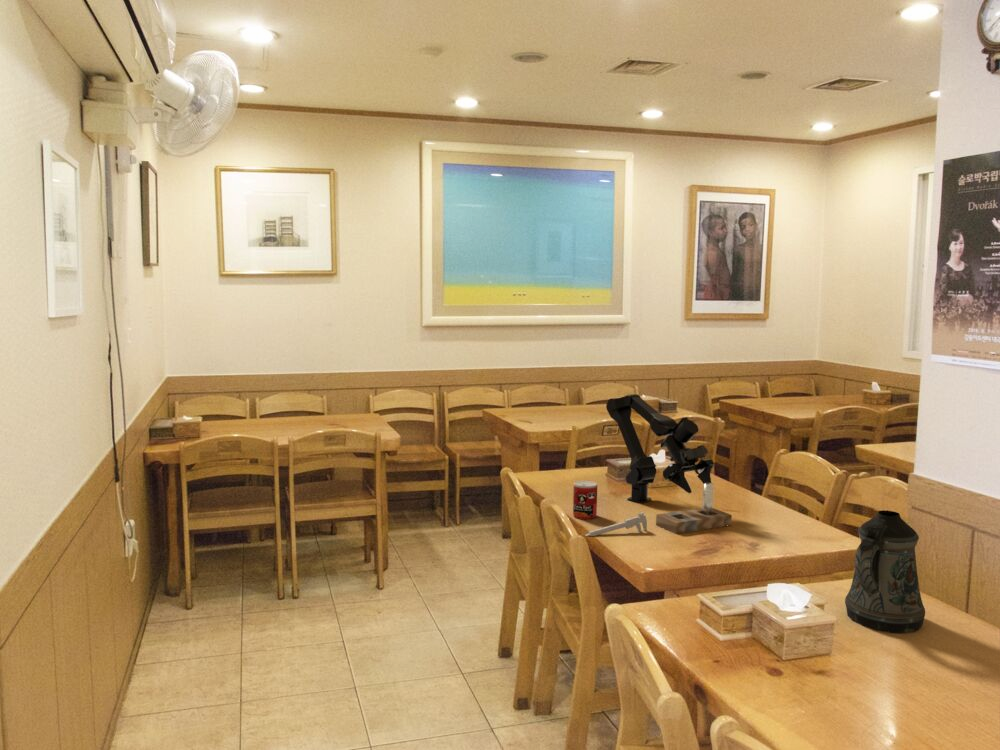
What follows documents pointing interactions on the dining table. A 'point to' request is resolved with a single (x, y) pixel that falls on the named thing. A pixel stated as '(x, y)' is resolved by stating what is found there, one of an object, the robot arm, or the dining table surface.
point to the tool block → (692, 520)
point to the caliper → (622, 525)
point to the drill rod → (707, 499)
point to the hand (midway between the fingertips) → (701, 491)
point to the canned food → (585, 499)
